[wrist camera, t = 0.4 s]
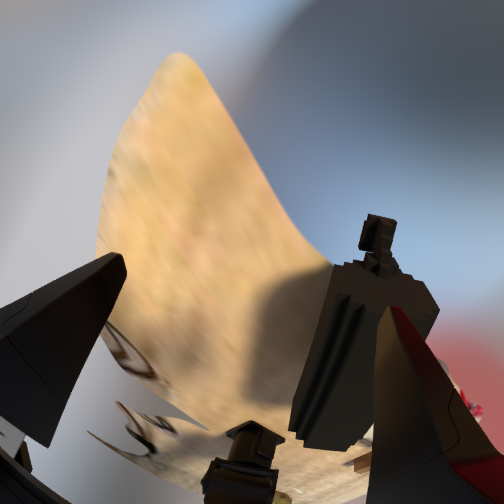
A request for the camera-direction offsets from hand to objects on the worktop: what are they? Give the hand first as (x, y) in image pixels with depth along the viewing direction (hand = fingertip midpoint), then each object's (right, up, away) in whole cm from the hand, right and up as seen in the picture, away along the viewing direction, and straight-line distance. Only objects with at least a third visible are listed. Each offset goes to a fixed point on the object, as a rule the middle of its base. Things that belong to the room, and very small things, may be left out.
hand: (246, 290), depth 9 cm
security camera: (+9, -4, +17) cm, 20 cm away
